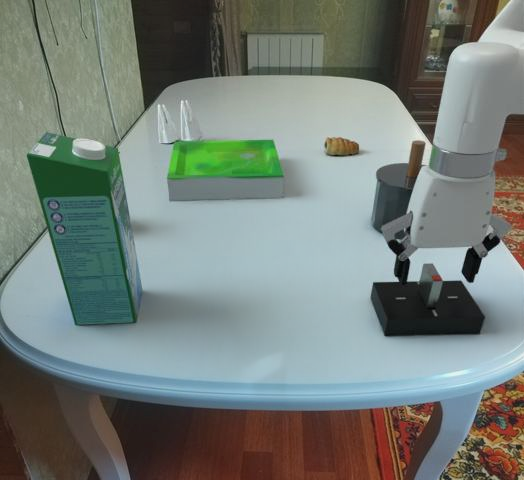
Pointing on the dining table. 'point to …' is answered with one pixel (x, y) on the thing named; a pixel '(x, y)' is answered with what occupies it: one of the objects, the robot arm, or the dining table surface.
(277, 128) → the dining table surface
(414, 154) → the lid
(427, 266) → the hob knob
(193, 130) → the shaker set
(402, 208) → the pot
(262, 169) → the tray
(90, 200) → the milk carton
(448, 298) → the panel
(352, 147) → the pastry
